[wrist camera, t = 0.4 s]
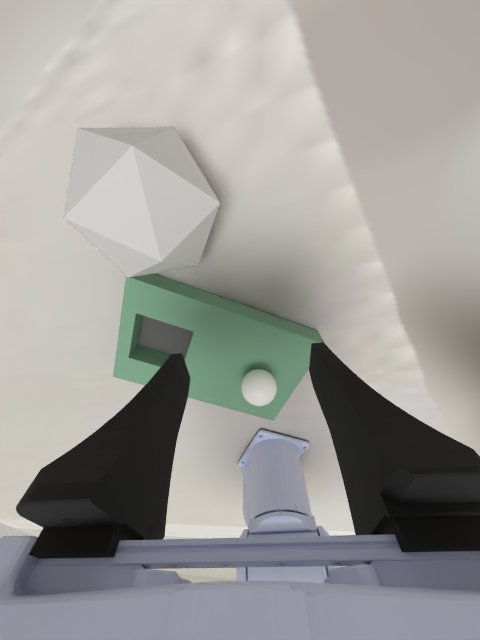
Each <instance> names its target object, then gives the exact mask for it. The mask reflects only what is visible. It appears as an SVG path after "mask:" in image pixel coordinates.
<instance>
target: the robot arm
mask: <svg viewBox="0 0 480 640" xmlns="http://www.w3.org/2000/svg"><path fill="white" fill-rule="evenodd" d="M309 372H310V376H311V380H312V384H313V387H314V390H315V393H316V395H317V398H318V401H319V403H320V406H321V409H322V411H323V414H324V416H325V419H326V422H327V424H328V427H329V430H330V433H331V436H332V440H333V444H334V447H335V451H336V454H337V458H338V462H339V466H340V470H341V473H342V478H343V482H344V486H345V490H346V494H347V498H348V502H349V507H350V511H351V516H352V520H353V525H354V529H355V534H356V535H346V536H329V534H328V533H327V532H326V531H325V530H324V528H323V527H322V526H317V528H316V523H315V518H314V516H312V514H311V509H310V504H309V499H308V494H307V490H306V485H305V480H304V475H303V470H302V466H301V461H300V457H301V455H302V454H303V453H304V452H305V451H306V450H307V449H308V447H309V446H310V444H309V442H307V441H303V440H299V439H296V438H292V437H288V436H284V435H281V434H277V433H273V432H269V431H265V430H259V431H258V433H257V434H256V436H255V437H254V439H253V440H252V442H251V444H250V445H249V447H248V448H247V450H246V451H245V453H244V454H243V456H242V457H241V459H240V460H239V462H238V467H240V468H243V515H244V519H245V522H246V524H247V526H248V528H249V529H245V530H243V532H242V534H241V536H240V538H213V539H168V540H162V539H163V538H164V536H165V524H166V514H167V504H168V496H169V487H170V479H171V472H172V465H173V459H174V453H175V447H176V441H177V436H178V432H179V428H180V425H181V421H182V417H183V413H184V410H185V406H186V402H187V398H188V393H189V386H190V375H189V372H188V369H187V366H186V363H185V360H184V357H183V355H182V353H179V354H171V355H170V357H169V358H168V359H167V360H166V361H165V363H164V364H163V365H162V366H161V367H160V369H159V370H158V371H157V372H156V373H155V375H154V376H153V377H152V378H151V379H150V381H149V382H148V383H147V384H146V385H145V386H144V387H143V388H142V389H141V391H140V392H139V393H138V394H137V395H136V396H135V397H134V398H133V399H132V400H131V401H130V402H129V403H128V404H127V405H126V406H125V407H124V408H123V409H122V410H121V411H119V412H118V413H117V414H116V415H115V416H114V417H113V418H111V419H110V420H109V421H108V422H107V423H105V424H104V425H103V426H102V427H101V428H99V429H98V430H97V431H96V432H94V433H93V434H92V435H90V436H89V437H88V438H86V439H85V440H84V441H82V442H81V443H80V444H78V445H77V446H75V447H74V448H73V449H71V450H70V451H68V452H67V453H65V454H64V455H62V456H61V457H59V458H58V459H56V460H55V461H53V462H52V463H50V464H48V465H47V466H45V467H44V468H42V469H41V470H40V472H39V473H38V475H37V476H36V478H35V479H34V481H33V482H32V484H31V485H30V487H29V488H28V490H27V491H26V493H25V494H24V496H23V497H22V499H21V500H20V502H19V503H18V505H17V507H16V510H17V513H18V514H19V515H20V516H22V517H24V518H25V519H27V520H30V521H32V522H34V523H36V524H38V525H40V526H42V527H44V528H43V530H42V532H41V533H40V535H39V537H35V536H4V537H2V538H0V640H480V456H479V455H478V454H477V453H476V452H475V451H474V450H473V449H471V448H470V447H468V446H466V445H464V444H462V443H460V442H458V441H456V440H454V439H452V438H450V437H448V436H446V435H444V434H442V433H441V432H439V431H437V430H435V429H433V428H432V427H430V426H428V425H426V424H425V423H423V422H421V421H419V420H418V419H416V418H415V417H413V416H411V415H410V414H408V413H407V412H405V411H403V410H402V409H400V408H399V407H397V406H396V405H394V404H393V403H391V402H390V401H388V400H387V399H386V398H384V397H383V396H382V395H380V394H379V393H377V392H376V391H375V390H374V389H372V388H371V387H370V386H369V385H367V384H366V383H365V382H364V381H363V380H361V379H360V378H359V377H358V376H357V375H356V374H355V373H353V372H352V371H351V370H350V369H349V368H348V367H347V366H346V365H345V364H344V363H343V362H342V361H341V360H340V359H339V358H338V357H337V356H336V355H335V354H334V353H333V352H332V351H331V350H330V349H329V348H328V347H327V346H326V345H325V344H324V343H323V342H321V343H311V354H310V364H309ZM338 566H346V567H340V568H338ZM235 567H237V581H219V582H199V583H192V582H191V581H188V580H185V579H182V578H181V577H179V576H178V575H177V573H176V572H172V571H163V570H153V569H162V568H235Z"/></svg>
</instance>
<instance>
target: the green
mask: <svg viewBox="0 0 480 640" xmlns="http://www.w3.org/2000/svg"><path fill="white" fill-rule="evenodd" d="M321 342H323V340H322V338H321V336H320V334H319V332H318V331H317V330H314V329H311V328H308V327H305V326H303V325H300V324H297V323H294V322H291V321H288V320H285V319H283V318H280V317H277V316H274V315H271V314H268V313H265V312H263V311H260V310H257V309H254V308H251V307H248V306H245V305H243V304H240V303H237V302H234V301H231V300H228V299H225V298H223V297H220V296H217V295H214V294H211V293H208V292H205V291H203V290H200V289H197V288H194V287H191V286H188V285H185V284H183V283H180V282H177V281H174V280H171V279H168V278H165V277H163V276H160V275H157V274H154V273H153V274H147V275H141V276H135V277H129V278H127V277H126V282H125V289H124V297H123V305H122V313H121V321H120V328H119V336H118V344H117V352H116V359H115V367H114V375H113V377H117V378H120V379H124V380H128V381H131V382H135V383H139V384H142V385H146V384H147V383H148V382H149V381H150V379H151V378H152V377H153V376H154V375H155V373H156V372H157V371H158V370H159V369H160V367H161V366H162V365H163V364H164V363H165V361H166V360H167V359H168V358H169V357H170V355H171V354H179V353H182V355H183V357H184V360H185V363H186V366H187V369H188V372H189V375H190V386H189V393H188V397H190V398H193V399H197V400H201V401H204V402H208V403H212V404H215V405H219V406H223V407H226V408H230V409H233V410H237V411H241V412H244V413H248V414H252V415H255V416H259V417H263V418H266V419H270V420H274V418H275V417H276V416H277V414H278V413H279V411H280V410H281V408H282V407H283V405H284V404H285V402H286V401H287V399H288V398H289V396H290V395H291V393H292V392H293V391H294V389H295V388H296V386H297V385H298V383H299V382H300V380H301V379H302V377H303V376H304V374H305V373H306V371H307V370H308V368H309V364H310V354H311V343H321ZM323 343H324V342H323ZM324 344H325V343H324ZM256 369H262V370H265V371H267V372H269V373H270V374H271V375H272V376H273V377H274V379H275V381H276V385H277V391H276V395H275V397H274V399H273V400H272V401H271V402H270V403H269V404H267V405H264V406H255V405H252V404H250V403H249V402H248V401H247V400H246V399H245V398H244V396H243V394H242V390H241V384H242V380H243V378H244V377H245V375H246V374H247V373H249V372H250V371H252V370H256Z"/></svg>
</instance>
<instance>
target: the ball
mask: <svg viewBox="0 0 480 640" xmlns="http://www.w3.org/2000/svg"><path fill="white" fill-rule="evenodd" d="M241 390H242V394H243V396H244V398H245V399H246V400H247V401H248V402H249V403H250V404H252V405H255V406H264V405H267V404H269V403H270V402H271V401H272V400H273V399H274V397H275V395H276V391H277V385H276V381H275V379H274V377H273V376H272V375H271V374H270V373H269V372H267V371H265V370H262V369H256V370H252V371H250V372H249V373H247V374H246V375H245V377H244V378H243V380H242V384H241Z"/></svg>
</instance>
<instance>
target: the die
mask: <svg viewBox="0 0 480 640" xmlns="http://www.w3.org/2000/svg"><path fill="white" fill-rule="evenodd" d="M219 205H220V202H219V200H218V198H217V197H216V195H215V193H214V192H213V190H212V188H211V187H210V185H209V183H208V182H207V180H206V178H205V177H204V175H203V173H202V172H201V170H200V168H199V167H198V165H197V163H196V162H195V160H194V159H193V157H192V155H191V154H190V152H189V150H188V149H187V147H186V145H185V144H184V142H183V140H182V139H181V137H180V135H179V134H178V132H177V130H176V129H175V128H78V129H77V135H76V142H75V148H74V154H73V161H72V167H71V173H70V180H69V186H68V192H67V199H66V205H65V211H64V219H65V220H66V221H67V222H68V223H70V224H71V225H72V226H73V227H74V228H75V229H76V230H77V231H78V232H79V233H80V234H81V235H82V236H83V237H85V238H86V239H87V240H88V241H89V242H90V243H91V244H92V245H93V246H94V247H95V248H96V249H97V250H98V251H99V252H101V253H102V254H103V255H104V256H105V257H106V258H107V259H108V260H109V261H110V262H111V263H112V264H113V265H114V266H116V267H117V268H118V269H119V270H120V271H121V272H122V273H123V274H124V275H125V276H126V277H127V278H129V277H135V276H141V275H147V274H153V273H159V272H165V271H171V270H177V269H183V268H189V267H195V266H199V263H200V260H201V257H202V254H203V252H204V249H205V246H206V243H207V240H208V237H209V234H210V231H211V228H212V225H213V223H214V220H215V217H216V214H217V211H218V208H219Z"/></svg>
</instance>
